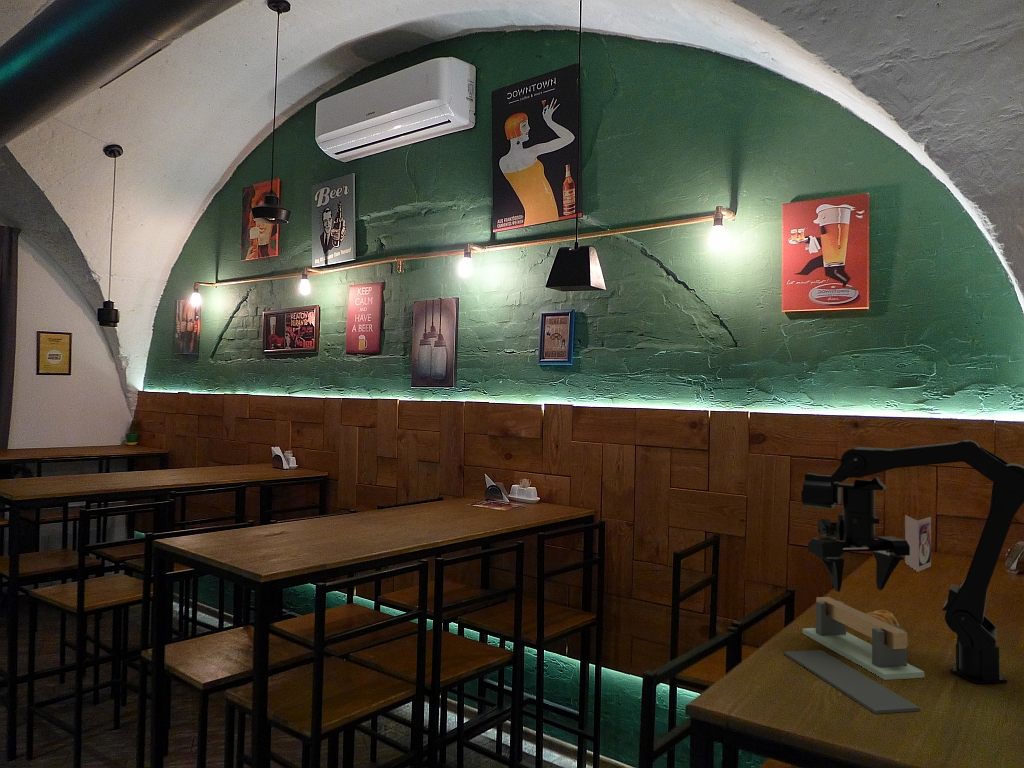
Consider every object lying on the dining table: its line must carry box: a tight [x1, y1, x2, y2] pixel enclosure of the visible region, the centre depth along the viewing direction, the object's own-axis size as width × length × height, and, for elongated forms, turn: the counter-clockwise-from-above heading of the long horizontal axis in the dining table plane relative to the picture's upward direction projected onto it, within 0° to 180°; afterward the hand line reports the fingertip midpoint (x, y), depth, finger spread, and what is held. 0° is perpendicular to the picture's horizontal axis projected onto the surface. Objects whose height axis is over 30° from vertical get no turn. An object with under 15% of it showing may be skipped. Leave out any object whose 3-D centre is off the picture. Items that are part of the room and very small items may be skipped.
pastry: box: [865, 609, 900, 627], centre depth 157 cm, size 9×7×4 cm
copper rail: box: [815, 596, 909, 649], centre depth 142 cm, size 24×3×3 cm, turn 9°
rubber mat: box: [783, 649, 921, 715], centre depth 128 cm, size 27×8×1 cm, turn 9°
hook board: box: [802, 600, 925, 681], centre depth 142 cm, size 26×8×8 cm, turn 9°
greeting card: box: [904, 514, 932, 573], centre depth 218 cm, size 11×7×15 cm, turn 132°
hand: (858, 590), depth 142 cm, fingers open, 9 cm apart
